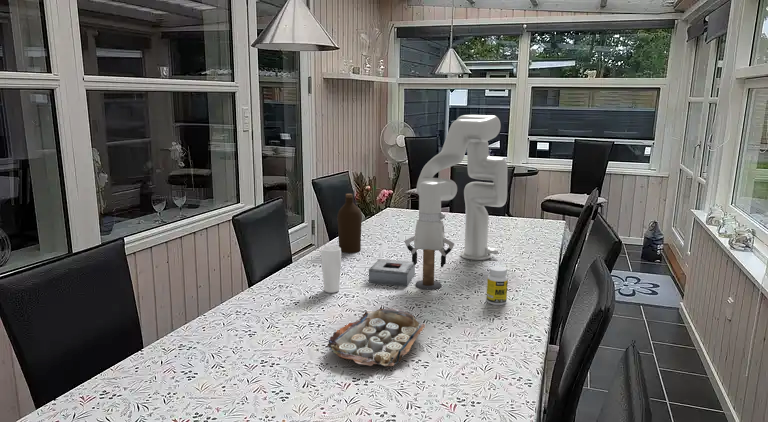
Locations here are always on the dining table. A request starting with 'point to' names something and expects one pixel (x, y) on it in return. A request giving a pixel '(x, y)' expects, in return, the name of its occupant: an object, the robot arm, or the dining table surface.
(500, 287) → the supplement bottle
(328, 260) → the drinking glass
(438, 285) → the coaster
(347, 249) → the olive oil
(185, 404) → the dining table surface
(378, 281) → the grey square holed block
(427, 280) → the tan wooden rod
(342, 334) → the baking tray
